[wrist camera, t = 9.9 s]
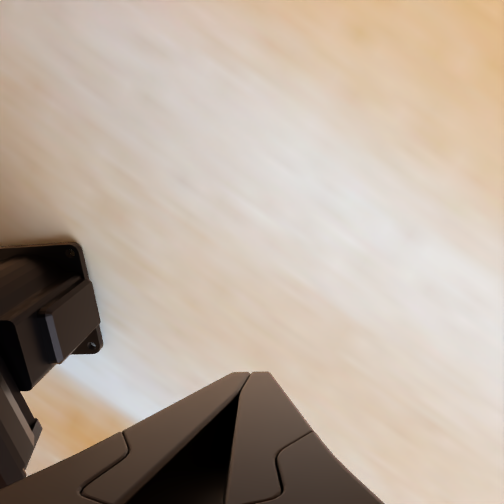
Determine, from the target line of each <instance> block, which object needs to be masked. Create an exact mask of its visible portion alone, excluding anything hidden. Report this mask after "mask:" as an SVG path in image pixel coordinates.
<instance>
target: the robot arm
mask: <svg viewBox="0 0 504 504" xmlns="http://www.w3.org/2000/svg"><path fill="white" fill-rule="evenodd" d="M69 249H72V250H73V251H74V253H75V256H73V255H71V254H70V252H69ZM99 324H100V317H99V312H98V308H97V303H96V299H95V294H94V290H93V285H92V282H91V281H90V280H89V277H88V273H87V268H86V264H85V259H84V255H83V250H82V248H81V247H80V245H79V244H77V243H74V242H68V243H53V244H37V245H21V246H6V247H0V504H384V503H383V502H382V501H381V500H380V499H379V498H378V497H377V496H376V495H375V494H374V493H373V492H371V491H370V490H369V489H368V488H367V487H366V486H365V485H364V484H363V483H362V482H361V481H360V480H359V479H357V478H356V477H355V476H354V475H353V474H352V473H351V472H350V471H349V470H348V469H347V468H346V467H345V466H344V465H343V464H342V463H341V462H340V461H339V460H338V459H337V458H336V457H335V456H334V455H333V454H332V453H331V451H330V450H329V449H328V448H327V447H326V445H325V444H324V443H323V442H322V440H321V439H320V438H319V436H318V435H317V434H316V433H315V432H314V431H313V429H312V428H311V427H310V425H309V424H308V423H307V421H306V420H305V419H304V417H303V416H302V415H301V413H300V412H299V411H298V409H297V408H296V407H295V405H294V404H293V403H292V401H291V400H290V399H289V397H288V396H287V395H286V393H285V392H284V391H283V389H282V388H281V387H280V385H279V384H278V383H277V381H276V380H275V379H274V377H273V376H272V375H271V373H270V372H252V373H251V374H250V373H249V372H233V373H231V374H229V375H227V376H225V377H223V378H221V379H219V380H217V381H216V382H214V383H212V384H210V385H208V386H206V387H204V388H202V389H200V390H199V391H197V392H195V393H193V394H191V395H189V396H187V397H185V398H184V399H182V400H180V401H178V402H176V403H174V404H172V405H170V406H169V407H167V408H165V409H163V410H161V411H159V412H157V413H155V414H154V415H152V416H150V417H148V418H146V419H144V420H142V421H140V422H139V423H137V424H135V425H133V426H131V427H129V428H127V429H125V430H124V431H123V432H118V433H116V434H114V435H113V436H111V437H109V438H107V439H105V440H103V441H101V442H99V443H97V444H95V445H93V446H91V447H89V448H87V449H85V450H83V451H82V452H80V453H77V454H75V455H73V456H71V457H69V458H67V459H65V460H63V461H60V462H58V463H56V464H54V465H52V466H50V467H48V468H45V469H43V470H41V471H39V472H37V473H34V474H32V475H30V476H28V477H26V472H25V470H26V467H27V465H28V462H29V460H30V458H31V455H32V453H33V450H34V448H35V445H36V443H37V441H38V438H39V436H40V433H41V431H42V427H41V425H40V423H39V421H38V419H37V418H34V417H33V415H32V413H31V411H30V409H29V408H28V406H27V404H26V402H25V400H24V398H23V396H22V394H21V392H20V391H29V390H31V389H32V388H33V387H34V386H35V385H36V384H37V383H38V382H39V381H40V380H41V379H42V378H43V377H44V376H45V375H46V374H47V373H48V372H49V371H50V370H51V369H52V368H53V367H54V366H55V365H56V364H61V363H62V362H63V361H64V360H65V359H66V358H67V357H68V356H69V355H70V354H95V353H97V352H99V351H100V349H101V348H102V347H103V340H102V335H101V331H100V326H99ZM91 342H93V343H94V344H95V345H96V346H93V345H92V344H91ZM25 477H26V478H25Z"/></svg>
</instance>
